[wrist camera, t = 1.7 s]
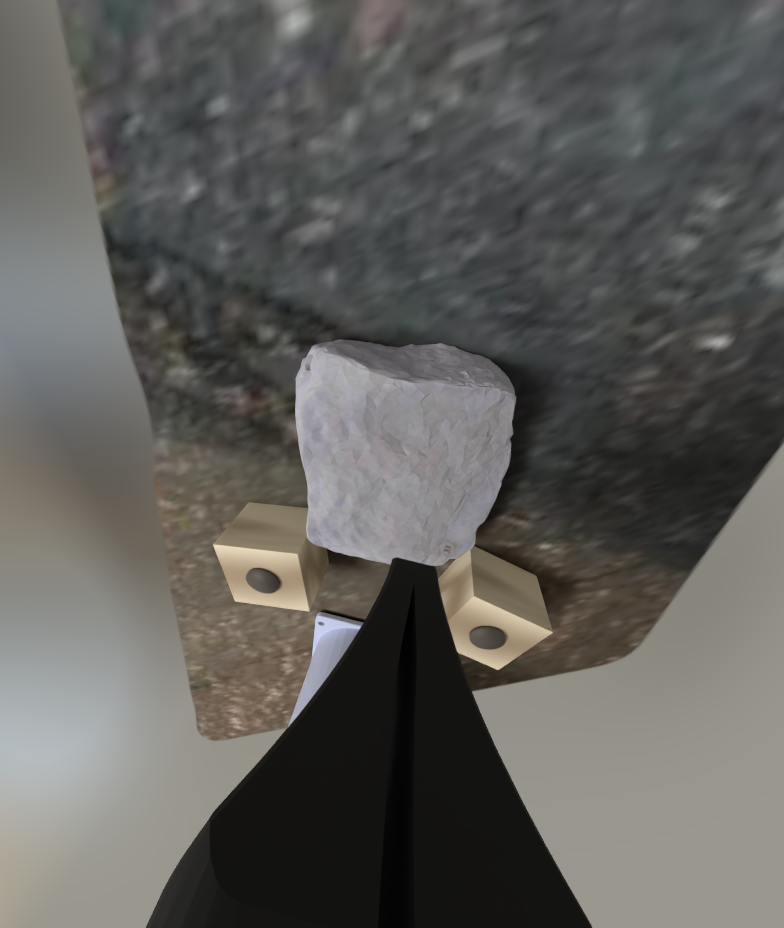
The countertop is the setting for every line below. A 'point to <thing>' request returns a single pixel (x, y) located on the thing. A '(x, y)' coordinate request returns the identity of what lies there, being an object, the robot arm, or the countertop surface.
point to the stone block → (401, 447)
